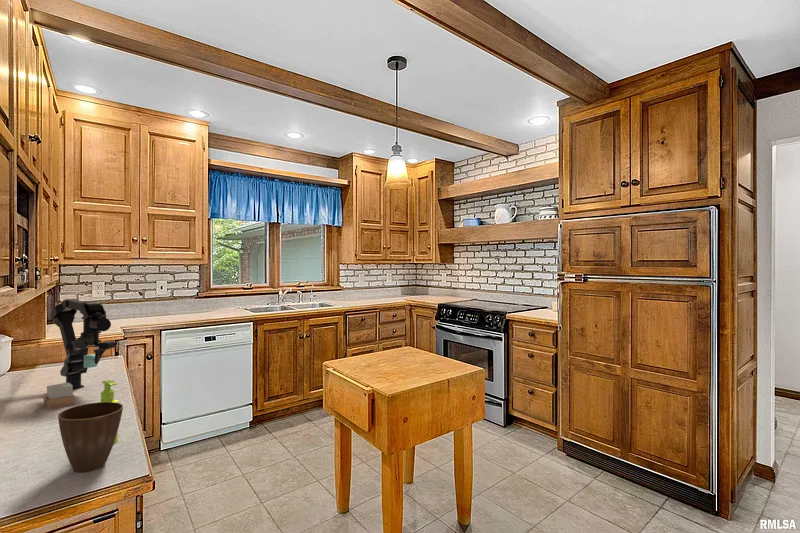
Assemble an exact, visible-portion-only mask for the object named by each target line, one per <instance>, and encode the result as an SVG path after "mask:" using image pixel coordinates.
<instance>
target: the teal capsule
mask: <svg viewBox="0 0 800 533" xmlns="http://www.w3.org/2000/svg"><path fill="white" fill-rule="evenodd" d="M96 367H98V364H95V353H94V354H88V355H85V356H84V368H88V369H90V368H96Z"/></svg>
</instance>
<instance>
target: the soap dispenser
mask: <svg viewBox="0 0 800 533" xmlns="http://www.w3.org/2000/svg"><path fill="white" fill-rule="evenodd" d="M102 384H104V386H103V388H104V389H103V390H102V391H100V401H99V402H116V403H119V400H118V399H114V398H115V397H114V396H115V391H114V390H113V389H112V387H111V386H116V385H118V384H117V382H116V381H114V380H110V379H108V380H103V381H102ZM118 431H119V430H118ZM118 431H117V435H116V438H115V441H114V444H116V443H117V442H118V436H119V435H118V434H119V433H118ZM115 442H116V443H115Z"/></svg>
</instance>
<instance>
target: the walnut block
mask: <svg viewBox="0 0 800 533" xmlns="http://www.w3.org/2000/svg"><path fill="white" fill-rule="evenodd" d="M75 396H76V395H75V394H73V395H72V396H66V397H60V398H55V399H50V398H49V397H48V396H47V395H43V406H44V407H46V408H47V409H49V410H54V409H58V408H62V407H68V406H72V405H75Z"/></svg>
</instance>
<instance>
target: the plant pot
mask: <svg viewBox="0 0 800 533" xmlns="http://www.w3.org/2000/svg"><path fill="white" fill-rule="evenodd" d="M123 409H124V405H123V404H122V403H120V402H118V403H116V402H100V401H98V402H92V403H84V404H80V405H76V406H72V407H69V408H66V409H64V410H63V411H60V412H59V413H58V414H57V418H58V426H59V432H60V436H61V441H62V444H63V447H64V452H65V454H66V456H67V460H68V462H69V463H70V466H71V468H72V470H73V471H74V472H77V473H87V472H91V471H95V470H99V469H100V468H102V467H103V465H104V466H105V465H106V463H107V461H108V459H109V457H110V454H111V451H112V449H113V446H114V444H115V443H114V441H115V438H116V435H117V431H119V428H120V423H121V420H122V419H121V418H122V414H123ZM117 436H118V435H117Z"/></svg>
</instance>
